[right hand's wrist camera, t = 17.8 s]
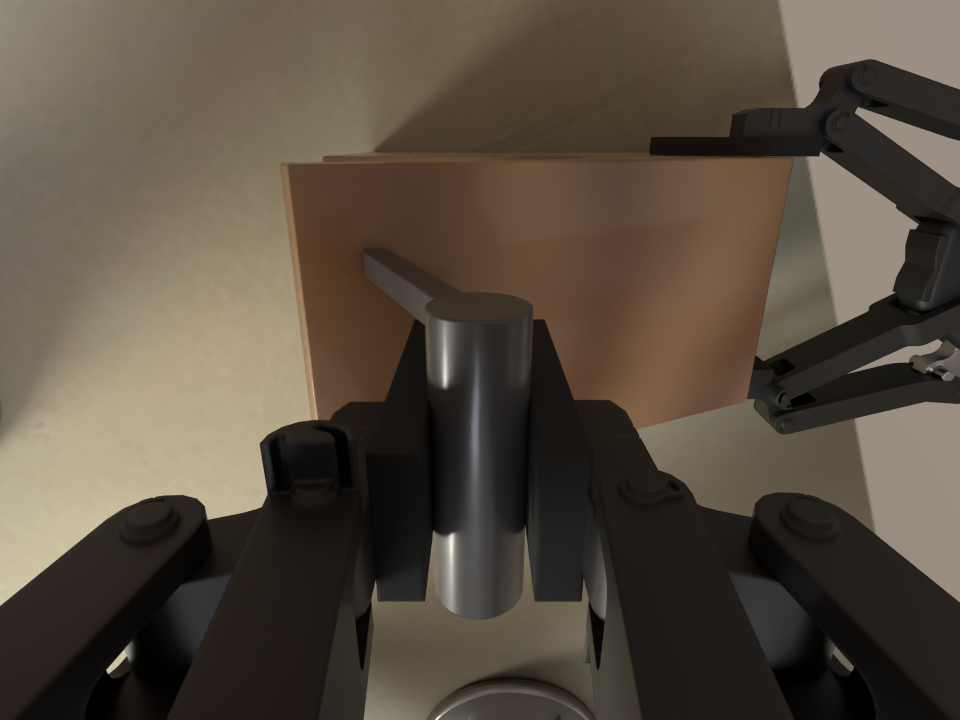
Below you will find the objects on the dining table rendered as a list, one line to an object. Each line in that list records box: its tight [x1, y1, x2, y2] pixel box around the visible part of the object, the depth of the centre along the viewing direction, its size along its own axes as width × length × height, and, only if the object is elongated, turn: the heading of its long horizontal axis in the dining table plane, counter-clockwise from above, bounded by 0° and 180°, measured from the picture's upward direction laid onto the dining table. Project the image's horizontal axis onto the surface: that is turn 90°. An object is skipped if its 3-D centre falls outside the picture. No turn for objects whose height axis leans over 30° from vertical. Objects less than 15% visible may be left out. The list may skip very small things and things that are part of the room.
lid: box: [280, 157, 793, 619], centre depth 16 cm, size 18×10×9 cm, turn 90°
